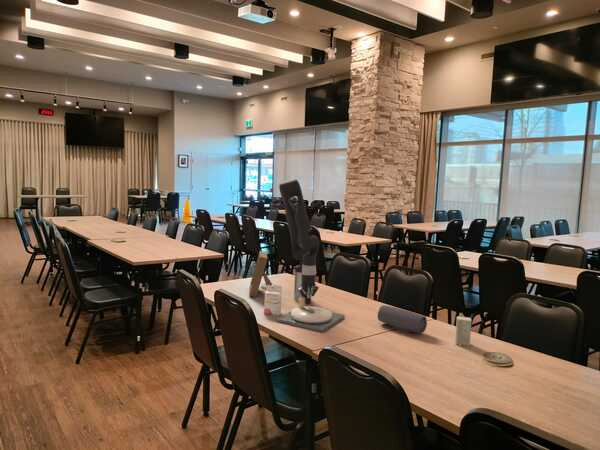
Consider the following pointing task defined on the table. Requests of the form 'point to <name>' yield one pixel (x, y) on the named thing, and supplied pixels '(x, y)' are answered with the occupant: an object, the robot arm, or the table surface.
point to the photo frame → (259, 274)
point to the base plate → (312, 326)
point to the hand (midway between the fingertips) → (307, 304)
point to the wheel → (310, 313)
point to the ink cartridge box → (272, 300)
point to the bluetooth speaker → (402, 319)
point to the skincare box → (463, 331)
